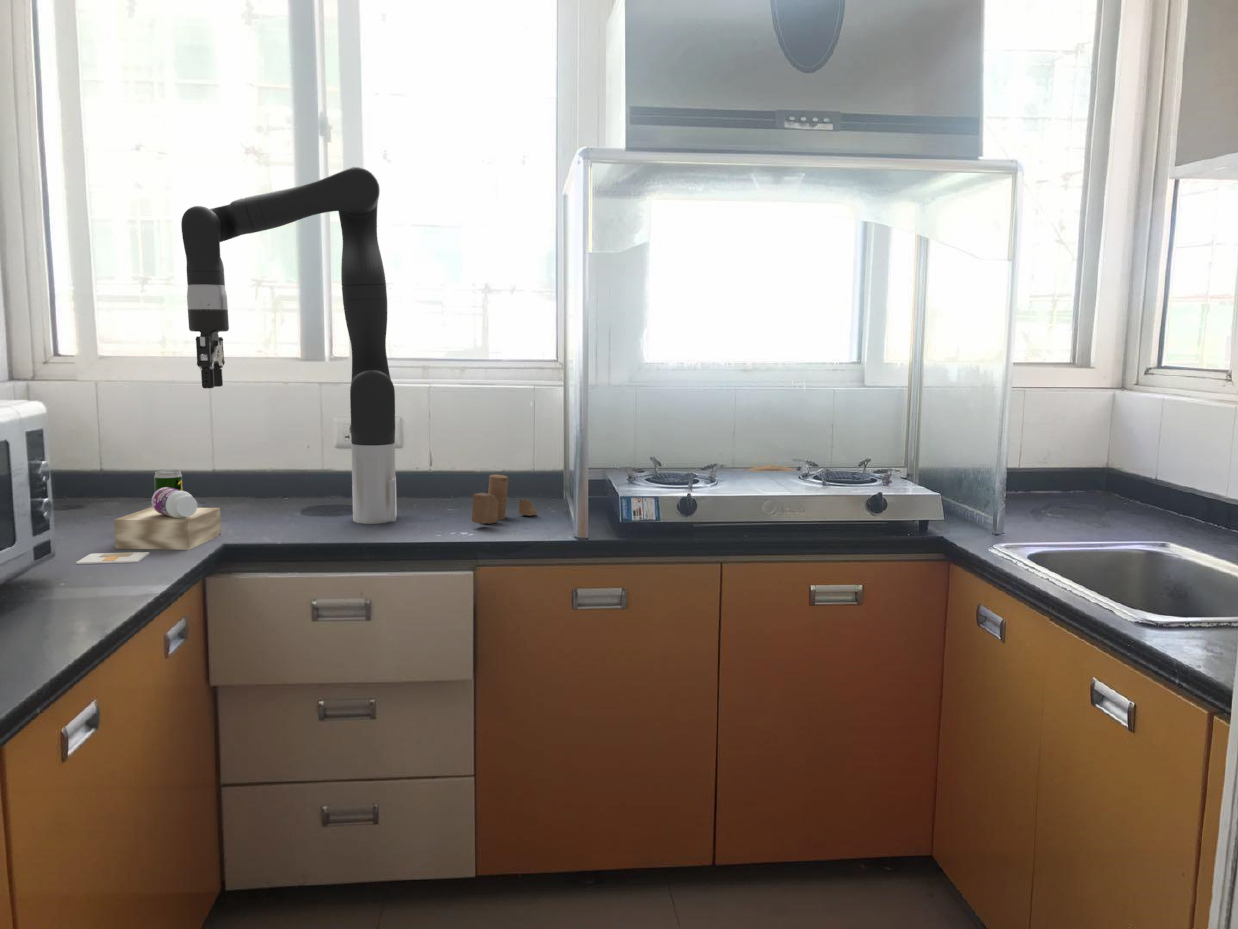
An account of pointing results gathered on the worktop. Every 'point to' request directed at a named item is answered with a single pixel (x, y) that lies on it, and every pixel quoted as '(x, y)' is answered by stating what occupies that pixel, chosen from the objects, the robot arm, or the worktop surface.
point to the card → (113, 558)
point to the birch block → (166, 529)
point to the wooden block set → (496, 502)
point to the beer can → (168, 479)
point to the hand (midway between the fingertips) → (212, 387)
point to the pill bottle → (174, 502)
